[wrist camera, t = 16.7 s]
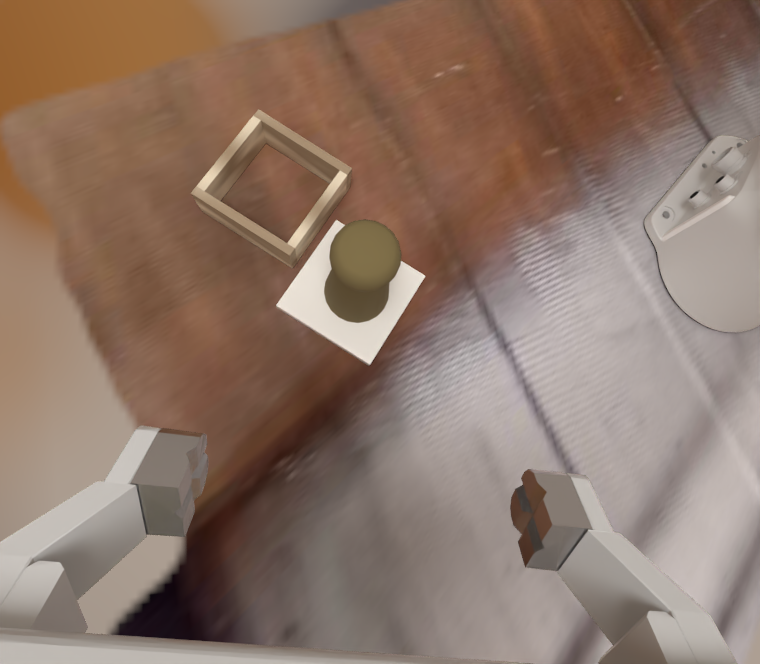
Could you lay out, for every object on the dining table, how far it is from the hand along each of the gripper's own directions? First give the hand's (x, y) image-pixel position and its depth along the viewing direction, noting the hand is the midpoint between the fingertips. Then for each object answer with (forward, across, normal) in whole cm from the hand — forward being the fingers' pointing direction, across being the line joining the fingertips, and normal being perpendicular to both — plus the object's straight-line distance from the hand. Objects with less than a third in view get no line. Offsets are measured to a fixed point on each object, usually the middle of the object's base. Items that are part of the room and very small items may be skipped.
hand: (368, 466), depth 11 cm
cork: (+29, 0, +11) cm, 31 cm away
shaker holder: (+36, +9, +6) cm, 37 cm away
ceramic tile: (+30, 0, +12) cm, 32 cm away
